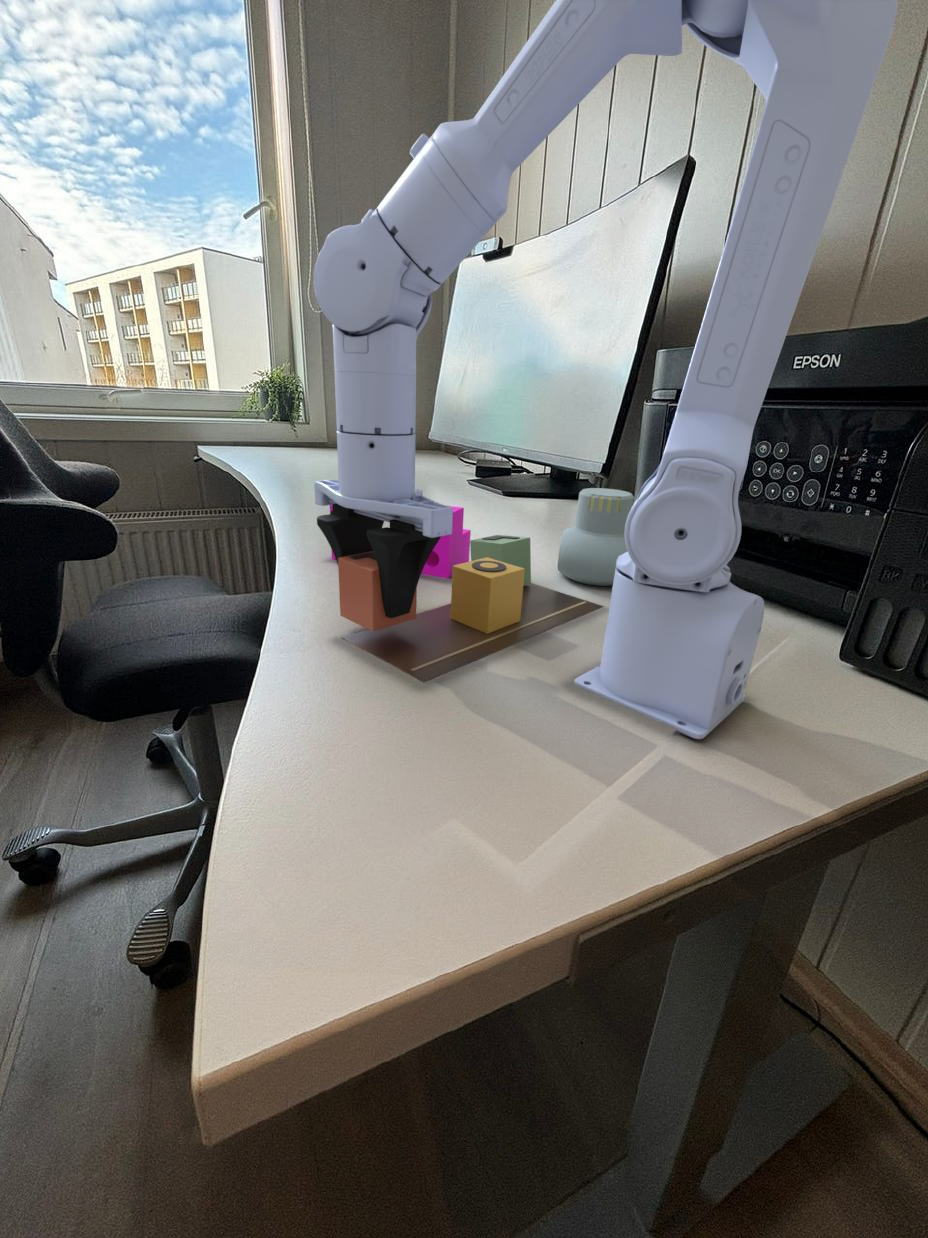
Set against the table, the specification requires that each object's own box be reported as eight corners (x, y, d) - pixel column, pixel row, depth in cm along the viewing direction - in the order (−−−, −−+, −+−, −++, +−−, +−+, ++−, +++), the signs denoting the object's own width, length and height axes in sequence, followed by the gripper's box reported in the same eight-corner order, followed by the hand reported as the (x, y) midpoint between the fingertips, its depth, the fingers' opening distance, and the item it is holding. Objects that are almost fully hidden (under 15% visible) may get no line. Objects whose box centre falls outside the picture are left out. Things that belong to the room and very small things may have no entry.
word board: (603, 609, 56) (603, 605, 56) (423, 686, 40) (423, 681, 40) (524, 584, 62) (524, 580, 62) (341, 641, 46) (341, 636, 46)
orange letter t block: (416, 618, 47) (417, 559, 45) (373, 632, 44) (372, 569, 42) (382, 603, 50) (382, 547, 48) (339, 615, 47) (337, 555, 45)
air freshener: (563, 562, 71) (572, 482, 67) (630, 570, 69) (644, 488, 66) (553, 589, 61) (564, 496, 58) (632, 599, 59) (648, 504, 56)
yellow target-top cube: (520, 621, 51) (525, 566, 49) (487, 634, 48) (491, 576, 46) (483, 607, 54) (487, 555, 52) (450, 618, 51) (452, 563, 49)
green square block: (531, 583, 61) (530, 536, 59) (504, 592, 58) (502, 542, 56) (499, 578, 64) (498, 533, 62) (472, 586, 61) (469, 539, 59)
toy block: (468, 567, 67) (472, 504, 65) (447, 581, 62) (450, 513, 59) (360, 549, 72) (358, 490, 70) (331, 561, 67) (329, 497, 64)
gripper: (486, 439, 40) (476, 619, 45) (361, 424, 49) (364, 575, 54) (409, 442, 35) (407, 643, 40) (287, 425, 44) (298, 590, 49)
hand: (378, 605), depth 46 cm, fingers closed on orange letter t block, 4 cm apart
